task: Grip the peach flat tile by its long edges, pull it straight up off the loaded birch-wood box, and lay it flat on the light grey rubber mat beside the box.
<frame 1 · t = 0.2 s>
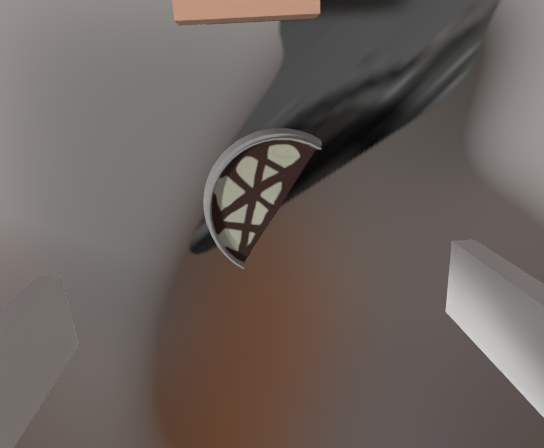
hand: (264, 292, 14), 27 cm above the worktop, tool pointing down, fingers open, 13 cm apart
food container: (245, 167, 40), on the worktop
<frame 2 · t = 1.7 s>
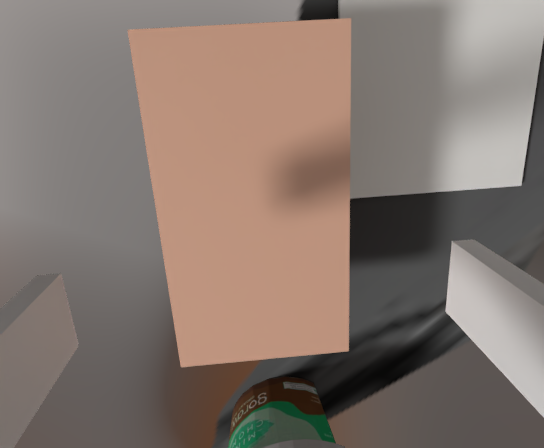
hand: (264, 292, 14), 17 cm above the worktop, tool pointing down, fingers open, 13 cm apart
food container: (256, 404, 37), on the worktop
peach flat tile: (253, 199, 24), point 6 cm above the worktop, touching birch box
grey mat: (440, 32, 27), on the worktop
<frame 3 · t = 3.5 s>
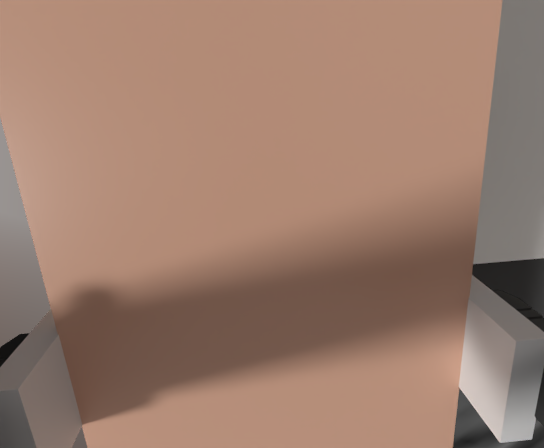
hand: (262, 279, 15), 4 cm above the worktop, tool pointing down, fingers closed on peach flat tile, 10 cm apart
peach flat tile: (265, 303, 13), point 6 cm above the worktop, touching birch box, gripper
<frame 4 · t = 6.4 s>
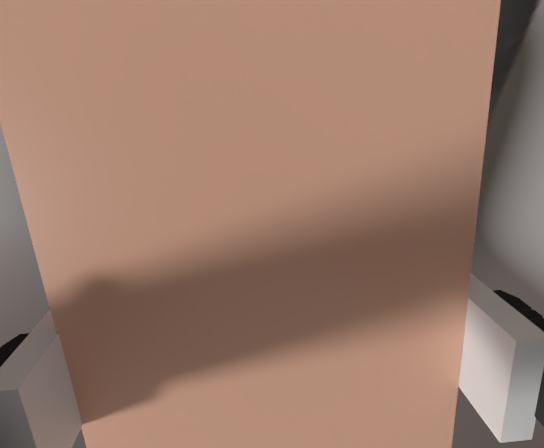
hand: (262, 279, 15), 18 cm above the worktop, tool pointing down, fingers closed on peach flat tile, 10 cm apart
peach flat tile: (264, 305, 13), point 20 cm above the worktop, touching gripper
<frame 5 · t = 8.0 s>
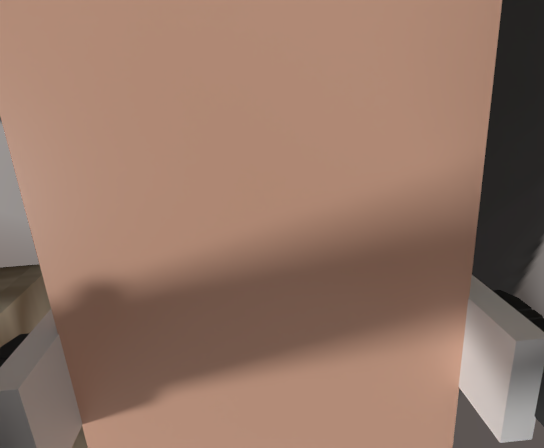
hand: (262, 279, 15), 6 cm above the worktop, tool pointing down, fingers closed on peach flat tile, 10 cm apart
peach flat tile: (265, 305, 13), point 7 cm above the worktop, touching gripper
birch box: (22, 401, 22), on the worktop
when the fingers open (2 cm above the worktop, at t = 9.3 s): peach flat tile drops 3 cm, resting on grey mat.
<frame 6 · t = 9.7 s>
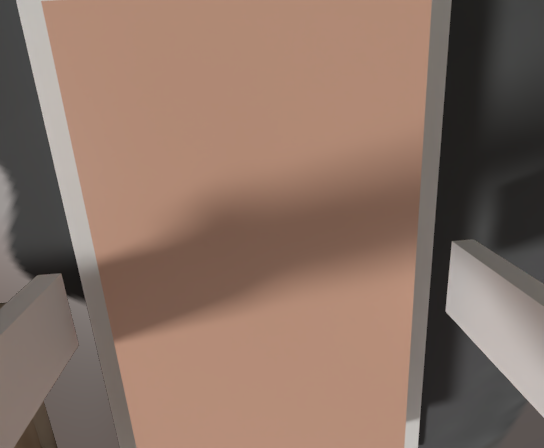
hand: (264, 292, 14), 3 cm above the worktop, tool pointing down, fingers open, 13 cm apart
peach flat tile: (260, 265, 16), resting on grey mat
grey mat: (260, 258, 16), on the worktop
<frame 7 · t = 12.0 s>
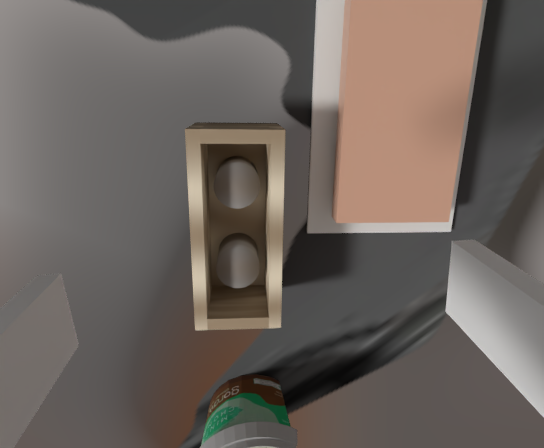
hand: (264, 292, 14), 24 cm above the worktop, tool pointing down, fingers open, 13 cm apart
food container: (230, 397, 44), on the worktop
peach flat tile: (391, 113, 35), resting on grey mat
birch box: (237, 211, 37), on the worktop
grey mat: (390, 112, 36), on the worktop
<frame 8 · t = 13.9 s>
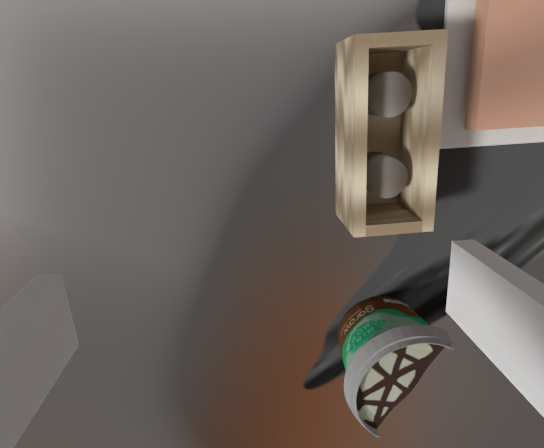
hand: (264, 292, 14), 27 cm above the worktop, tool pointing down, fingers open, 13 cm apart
food container: (357, 320, 46), on the worktop
peach flat tile: (521, 22, 36), resting on grey mat
birch box: (371, 132, 39), on the worktop
grey mat: (518, 22, 37), on the worktop
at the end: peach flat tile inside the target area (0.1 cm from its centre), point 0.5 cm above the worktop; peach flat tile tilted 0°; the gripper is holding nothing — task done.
